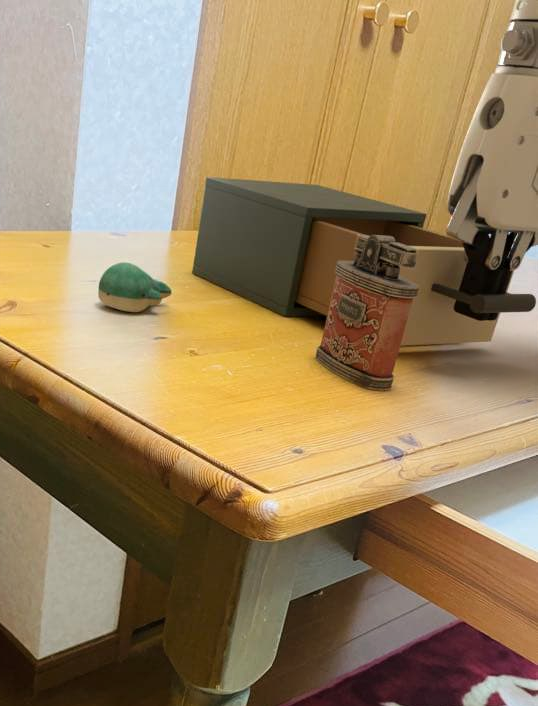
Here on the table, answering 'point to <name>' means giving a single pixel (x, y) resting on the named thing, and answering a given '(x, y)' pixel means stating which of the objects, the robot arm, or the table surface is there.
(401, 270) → the drawer
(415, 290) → the lighter
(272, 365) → the table surface
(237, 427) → the table surface
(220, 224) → the cabinet
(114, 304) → the whale figurine
